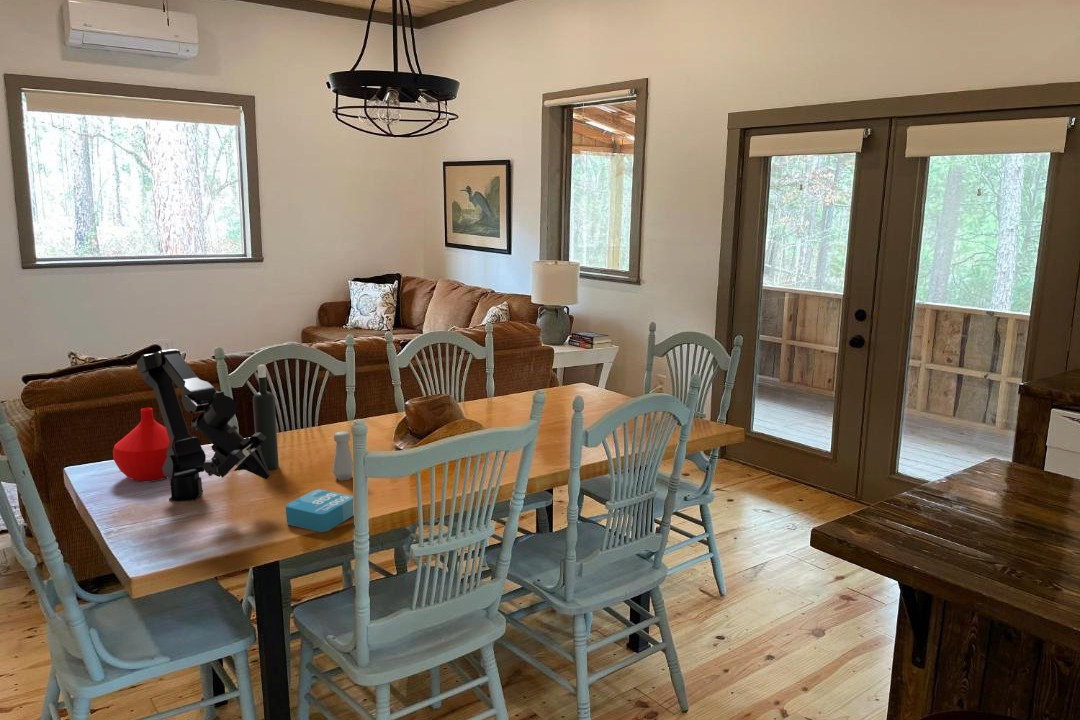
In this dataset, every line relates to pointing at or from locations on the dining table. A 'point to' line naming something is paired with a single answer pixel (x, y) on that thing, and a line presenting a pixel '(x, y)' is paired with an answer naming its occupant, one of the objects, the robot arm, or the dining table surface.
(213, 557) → the dining table surface
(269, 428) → the wine bottle
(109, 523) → the dining table surface
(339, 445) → the salt shaker
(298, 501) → the data package
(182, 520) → the dining table surface
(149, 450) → the vase
